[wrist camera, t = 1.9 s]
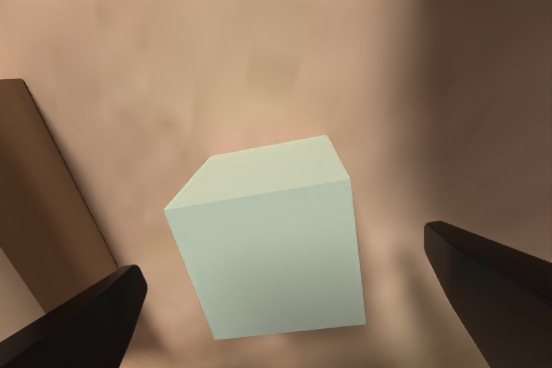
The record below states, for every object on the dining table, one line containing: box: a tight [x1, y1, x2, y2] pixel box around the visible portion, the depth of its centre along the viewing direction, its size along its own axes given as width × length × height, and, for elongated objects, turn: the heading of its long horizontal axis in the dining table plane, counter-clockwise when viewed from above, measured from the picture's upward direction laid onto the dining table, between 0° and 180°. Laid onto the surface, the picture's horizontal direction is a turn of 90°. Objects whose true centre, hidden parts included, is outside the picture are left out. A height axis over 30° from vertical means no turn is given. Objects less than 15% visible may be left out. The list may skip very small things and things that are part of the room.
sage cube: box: [163, 135, 366, 340], centre depth 11 cm, size 5×5×5 cm
